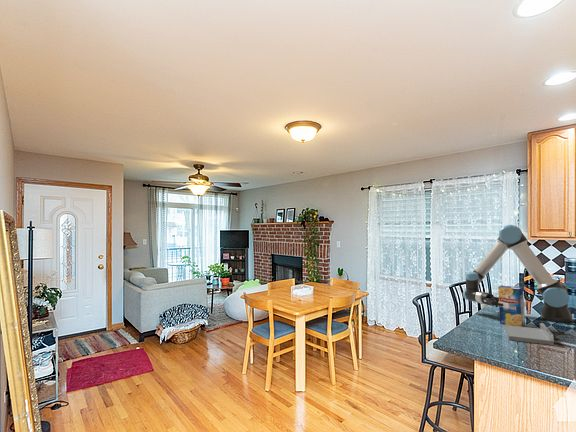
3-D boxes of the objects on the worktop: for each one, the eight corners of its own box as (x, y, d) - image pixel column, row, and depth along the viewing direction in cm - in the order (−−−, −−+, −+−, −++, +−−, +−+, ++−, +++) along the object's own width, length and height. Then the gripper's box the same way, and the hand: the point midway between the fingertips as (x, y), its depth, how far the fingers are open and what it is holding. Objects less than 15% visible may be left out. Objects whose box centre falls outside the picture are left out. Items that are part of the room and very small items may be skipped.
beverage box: (522, 327, 183) (519, 288, 184) (500, 323, 191) (498, 286, 192) (525, 325, 187) (523, 287, 188) (503, 321, 195) (501, 285, 197)
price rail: (540, 328, 173) (539, 323, 174) (543, 329, 173) (543, 323, 173) (549, 340, 154) (549, 334, 154) (553, 341, 154) (553, 334, 154)
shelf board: (504, 328, 181) (504, 324, 181) (543, 332, 173) (543, 329, 173) (508, 339, 162) (508, 335, 162) (553, 345, 153) (553, 341, 154)
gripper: (499, 302, 210) (533, 310, 189) (470, 305, 203) (501, 313, 183) (499, 291, 210) (532, 297, 190) (470, 293, 204) (500, 300, 183)
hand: (517, 305), depth 186 cm, fingers open, 12 cm apart
